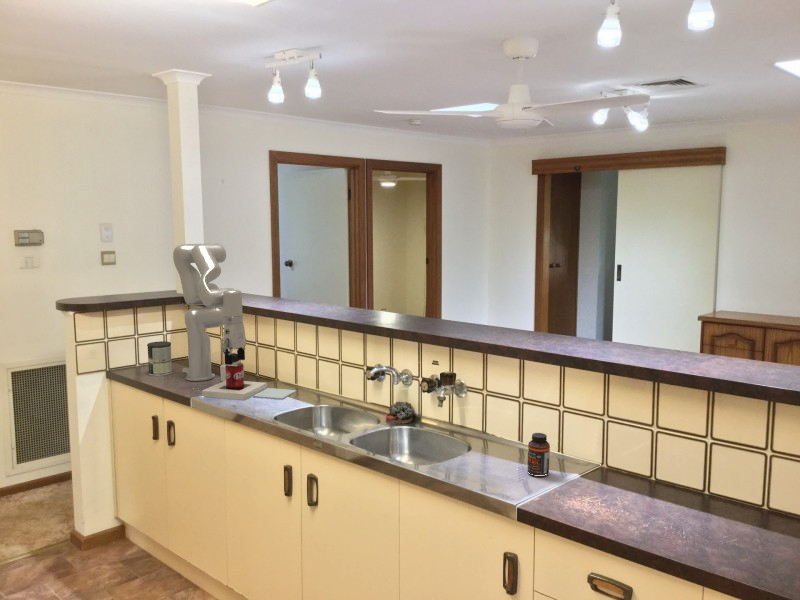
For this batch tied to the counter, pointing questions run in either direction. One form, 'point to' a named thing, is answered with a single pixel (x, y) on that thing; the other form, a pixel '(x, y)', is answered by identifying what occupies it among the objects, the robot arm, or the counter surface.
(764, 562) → the counter surface
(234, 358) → the medicine bottle
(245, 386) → the collar dock
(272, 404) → the counter surface
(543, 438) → the supplement bottle
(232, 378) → the soda can
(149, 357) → the coffee can
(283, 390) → the mat
